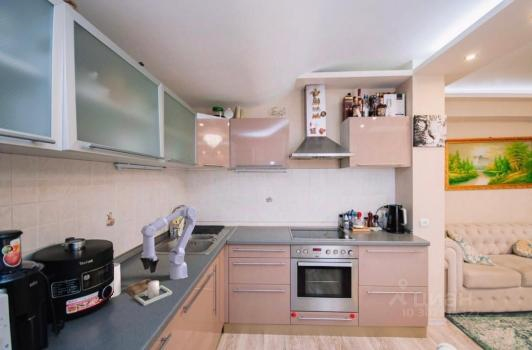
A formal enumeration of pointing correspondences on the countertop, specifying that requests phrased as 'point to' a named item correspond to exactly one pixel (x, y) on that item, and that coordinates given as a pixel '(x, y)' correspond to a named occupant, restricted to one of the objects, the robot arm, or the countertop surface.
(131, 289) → the tray
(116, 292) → the cup
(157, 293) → the white rounded piece
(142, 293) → the tray
